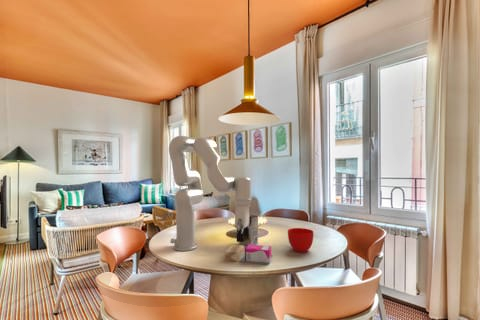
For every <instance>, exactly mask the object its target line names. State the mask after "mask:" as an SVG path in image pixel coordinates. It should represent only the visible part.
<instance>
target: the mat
mask: <svg viewBox="0 0 480 320" xmlns="http://www.w3.org/2000/svg"><path fill="white" fill-rule="evenodd" d="M272 257H273V255H272V254H271V259H272ZM239 263H246V264H255V265H262V266H263V265H265V266H268V265H269V264H270V263H265V262H254V261H245V254H243V256H242V257H241V258H240V259H239Z"/></svg>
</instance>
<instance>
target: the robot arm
mask: <svg viewBox="0 0 480 320" xmlns="http://www.w3.org/2000/svg"><path fill="white" fill-rule="evenodd" d="M217 149H218V145H217V143H216V141H215V140H213V139H211V138H207V137H191V136H186V135H178V136H175V137H173V138H172V139H171V140H170V142H169V145H168V152H169V153H168V154H169V158H170V161H171V166H172V168H171V169H172V174H173V179H174V182H175V184H176V186H178V187H185V188H182V189H178V190H177V191H176V193H175V195H174V204H175V210H176V211H175V213H176V218H175V219H176V225H175V226H176V233H175V234H176V238H170V241H169V242H170V244H174V245H173V249H174V250H175V251H179V252H187V251H192V250H195V249H197V248H198V244H197V243H196V242H195V210H194V208H193V206H194V205H198V204H200V203H202V201H203V199H204V189H203V185H202V180H201V179H202V177H201V174H200V173H199V172H198V170H196V169H194V168H190V167H189V163H188V162H189V161H188V159H187V157H186V155H185V154H184V153H192V154H193V153H195V154H196V155H197V156H198V157H199V158H200V160H201V161H202V163H203V165H204V166H205V167H206V174H207V175H206V176H207V178H208V180H209V182H210V184H211V185H212V186H213V188H215V189H214V190H216V191H217V192H219V193H223V194H224V193H231V192H234V207H235V212H234V213H235V214H234V228H235V229H236V242H238V243H239V242H244V236H245V237H248V236H249V214H250V207H251V206H252V205H251V204H252V201H251V200H252V199H251V198H252V197H251V196H252V195H251V194H252V193H251V192H252V191H251V186H252V185H251V182H252V181H251V178H250V177H247V176H238V177H237V176H233V175H232V176H224V175H223V173H222V172H221V170H220V168H219V163H220V162H221V157H220V155H219V154H218V153H217ZM242 226H243V227H242ZM241 229H242V230H241Z"/></svg>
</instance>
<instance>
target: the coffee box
mask: <svg viewBox="0 0 480 320" xmlns="http://www.w3.org/2000/svg"><path fill="white" fill-rule="evenodd" d="M242 227H243V226H242ZM241 230H242V229H241ZM238 243H239V244H241V245H244V246H247V245H248V244H249V245H259V215H257V214H251V213H249V236H248V237H245V236H244V242H238Z"/></svg>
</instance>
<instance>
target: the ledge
mask: <svg viewBox="0 0 480 320" xmlns="http://www.w3.org/2000/svg"><path fill="white" fill-rule="evenodd" d="M224 253H225V255H224V257H225V258H224V260H225V261H228V262H240V260H241V259H242V258H243V256H244V255H245V245H243V244H241V245H239V244H232V245H231V246H229V248H227V249H226V250H225V252H224Z"/></svg>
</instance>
